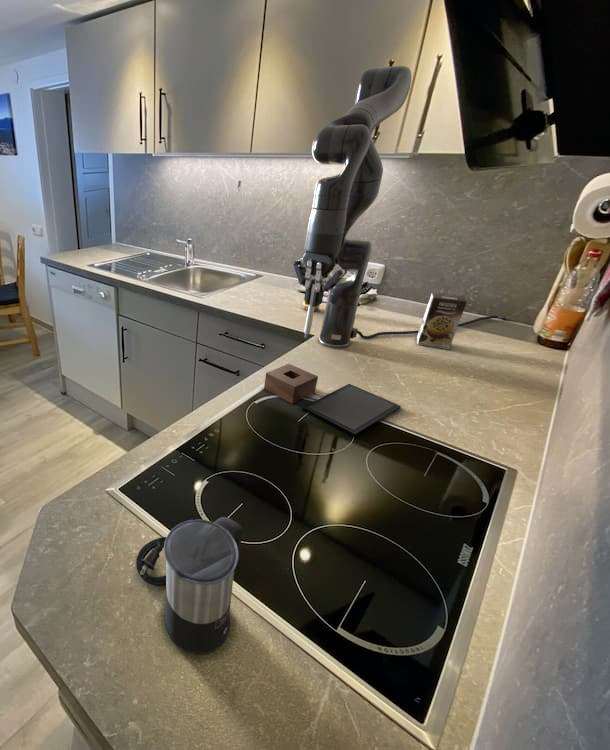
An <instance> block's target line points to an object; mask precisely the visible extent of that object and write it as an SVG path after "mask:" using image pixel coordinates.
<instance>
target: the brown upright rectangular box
mask: <svg viewBox="0 0 610 750" xmlns="http://www.w3.org/2000/svg"><path fill="white" fill-rule="evenodd" d="M467 302H468V301H467V299H466V297H465V296H464V295H463V296H462V295H453V294H446V293H438V292H431V294H430V297H429V300H428V303H427V306H426V308H425V312H424V315H423V318H422V321H421V324H420V326H419V329H418V330H419V333H417V336H416V344H417V345H419V346H426V347H433V348H439V349H444V350H450V348H451V345H452V342H453V340H454V337H455V335H456V332H457V329H458V328H459V327H458V324H460V322H461V319H462V316H463V314H464V312H465V308H466V306H467Z"/></svg>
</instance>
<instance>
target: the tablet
mask: <svg viewBox="0 0 610 750" xmlns="http://www.w3.org/2000/svg"><path fill="white" fill-rule="evenodd" d="M401 408H402V405H400V404H397V403H395V402H393V401H391V400H388V399H386V398H384V397H381V396H379V395H377V394H375V393H372V392H370V391H368V390H366V389H363V388H361V387H358V386H356V385H354V384H351V383H347V384H346V385H344V386H342V387H340V388H338V389H336V390H333V391H331V392H330V393H328V394H325V395H324V396H322V397H319V398H318V399H316V400H313V401H312V402H310V403H308V404H306V405H304V406H302V408H301V410H302V411H304V412H305V413H307V414H309V415H311V416H313V417H315V418H317V419H318V420H320V421H322V422H324V423H326V424H328V425H330V426H331V427H334V428H335V429H337V430H339V431H341V432H343V433H345V434H347V435H349V436H350V437H353V438H356V437H357V436H359V435H360V434H362V433H364V432H365V431H367V430H369V429H371V427H374V426H375V425H377V424H378V423H380V422H381V421H383V420H384V419H386V418H388V417H389V416H391V415H393V414H394V413H396V412H398V411H399V410H401Z"/></svg>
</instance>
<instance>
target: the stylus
mask: <svg viewBox="0 0 610 750" xmlns="http://www.w3.org/2000/svg"><path fill="white" fill-rule="evenodd" d="M315 287H316V284H313V285H312V290H311V296H310V302H309V307H308V310H307V314H306V320H305V325H304V331H303V334H304V339H308V338H309V335H310V334H311V330H312V326H313V325H312V324H313V318H314V315H315V314H314V313H315V311H314V309H315V307H313V306H312V301H313V296H314V291H315Z"/></svg>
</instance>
